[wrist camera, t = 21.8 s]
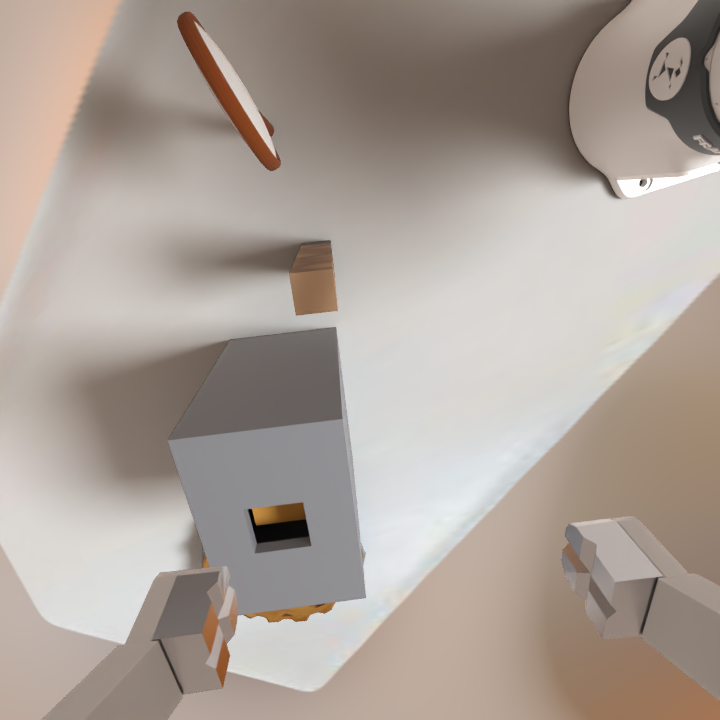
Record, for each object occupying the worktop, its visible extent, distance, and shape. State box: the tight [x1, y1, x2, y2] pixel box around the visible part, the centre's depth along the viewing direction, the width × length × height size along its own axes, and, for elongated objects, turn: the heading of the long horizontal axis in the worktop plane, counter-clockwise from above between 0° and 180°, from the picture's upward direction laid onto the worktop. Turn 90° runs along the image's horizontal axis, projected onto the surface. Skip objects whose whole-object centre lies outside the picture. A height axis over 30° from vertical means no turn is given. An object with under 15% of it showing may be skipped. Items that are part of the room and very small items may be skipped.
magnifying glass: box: [177, 12, 281, 171], centre depth 29 cm, size 9×2×20 cm, turn 29°
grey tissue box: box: [167, 327, 366, 616], centre depth 41 cm, size 12×18×20 cm, turn 5°
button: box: [252, 502, 306, 526], centre depth 36 cm, size 6×6×2 cm
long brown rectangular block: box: [289, 241, 338, 315], centre depth 36 cm, size 3×3×16 cm
